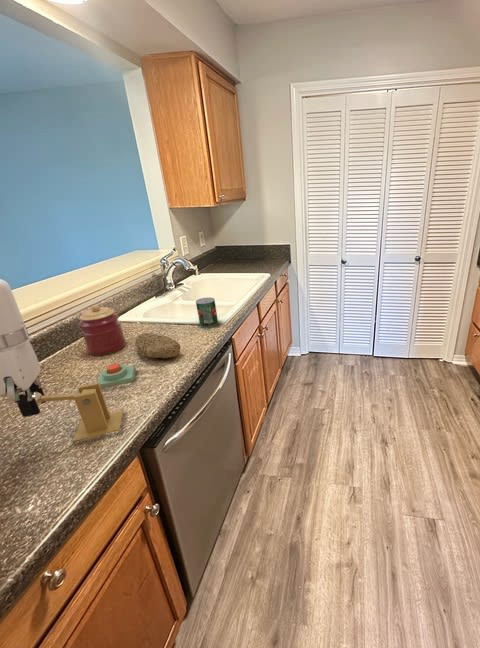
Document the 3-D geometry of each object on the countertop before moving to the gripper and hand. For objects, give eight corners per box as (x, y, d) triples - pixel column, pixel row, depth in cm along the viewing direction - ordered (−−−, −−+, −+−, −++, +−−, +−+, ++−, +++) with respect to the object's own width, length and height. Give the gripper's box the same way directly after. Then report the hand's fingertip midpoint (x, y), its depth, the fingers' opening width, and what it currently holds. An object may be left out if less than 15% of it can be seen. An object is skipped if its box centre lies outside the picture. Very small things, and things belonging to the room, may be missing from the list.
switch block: (97, 391, 98) (93, 380, 96) (102, 378, 105) (98, 367, 103) (133, 383, 101) (130, 372, 99) (136, 371, 108) (133, 360, 106)
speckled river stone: (134, 353, 122) (142, 364, 106) (132, 332, 121) (140, 340, 105) (170, 348, 129) (183, 358, 113) (169, 329, 128) (182, 336, 112)
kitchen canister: (101, 359, 117) (86, 313, 110) (81, 351, 123) (66, 308, 116) (133, 344, 127) (121, 301, 120) (114, 337, 133) (101, 297, 126)
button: (107, 375, 99) (105, 370, 98) (109, 369, 102) (107, 364, 102) (120, 372, 100) (118, 367, 100) (121, 367, 103) (120, 362, 103)
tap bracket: (74, 444, 77) (57, 404, 73) (82, 423, 84) (67, 385, 80) (120, 432, 80) (107, 393, 76) (124, 413, 87) (112, 376, 83)
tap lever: (21, 411, 73) (18, 397, 71) (27, 402, 76) (25, 388, 75) (94, 405, 78) (93, 392, 77) (97, 397, 81) (96, 384, 80)
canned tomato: (196, 324, 142) (192, 300, 138) (212, 319, 147) (209, 296, 143) (205, 329, 137) (200, 304, 132) (221, 323, 142) (218, 300, 137)
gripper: (1, 326, 74) (29, 393, 81) (-39, 359, 60) (-1, 437, 67) (40, 321, 77) (64, 386, 84) (10, 351, 62) (42, 427, 69)
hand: (35, 408), depth 75 cm, fingers closed on tap lever, 3 cm apart
